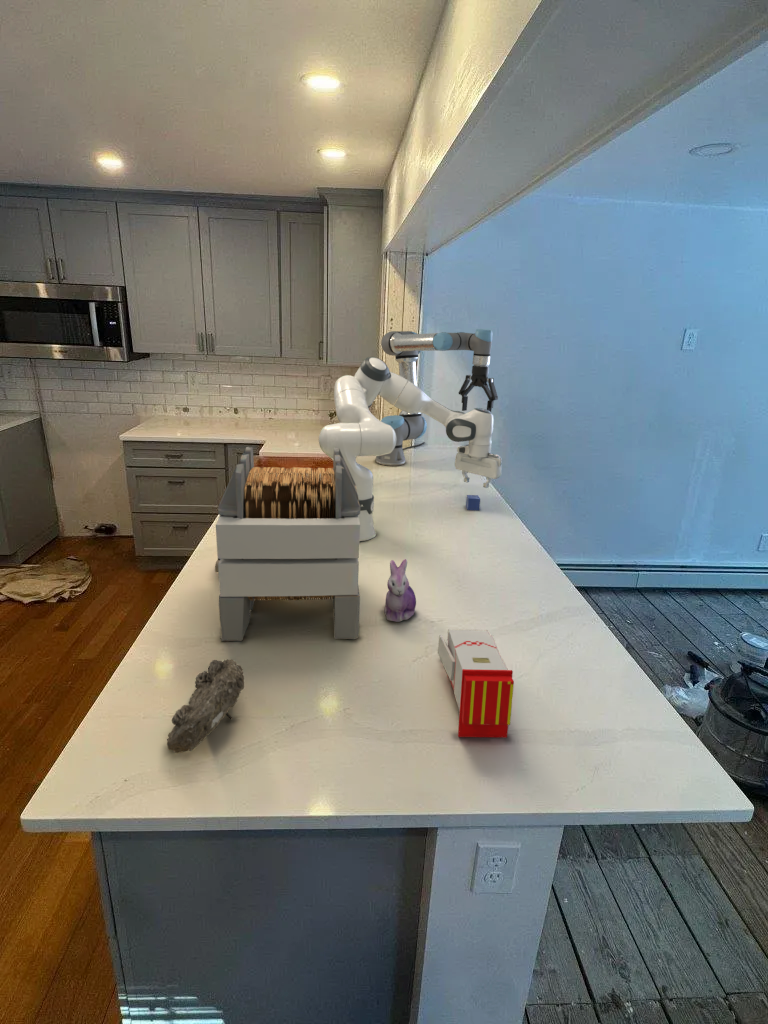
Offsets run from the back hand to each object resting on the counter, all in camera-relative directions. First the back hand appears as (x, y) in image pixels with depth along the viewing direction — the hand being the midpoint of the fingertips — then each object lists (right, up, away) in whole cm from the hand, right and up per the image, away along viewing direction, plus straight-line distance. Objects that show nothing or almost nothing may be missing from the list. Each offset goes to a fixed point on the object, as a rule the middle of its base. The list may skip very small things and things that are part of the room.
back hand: (476, 412), depth 261 cm
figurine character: (-87, -63, -94) cm, 143 cm away
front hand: (-6, -35, -36) cm, 51 cm away
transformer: (-66, -71, -113) cm, 149 cm away
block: (-7, -44, -32) cm, 55 cm away
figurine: (-39, -72, -114) cm, 140 cm away
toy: (-25, -83, -143) cm, 167 cm away
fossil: (-75, -85, -153) cm, 191 cm away
